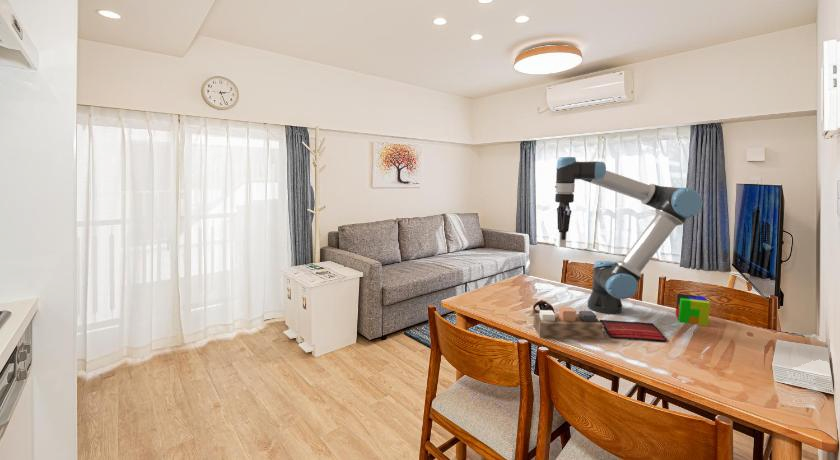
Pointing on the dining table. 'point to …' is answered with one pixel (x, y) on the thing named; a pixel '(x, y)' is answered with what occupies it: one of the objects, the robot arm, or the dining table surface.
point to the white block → (547, 315)
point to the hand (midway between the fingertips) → (562, 246)
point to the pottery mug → (542, 306)
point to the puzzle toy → (692, 309)
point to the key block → (568, 328)
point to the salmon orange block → (567, 314)
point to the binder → (632, 330)
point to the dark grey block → (587, 316)
